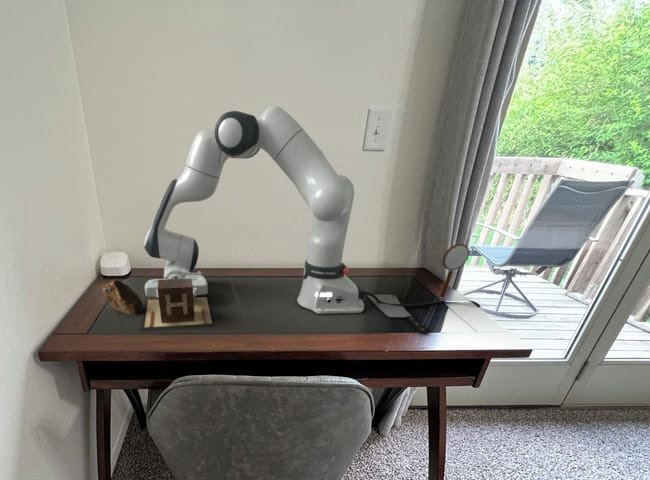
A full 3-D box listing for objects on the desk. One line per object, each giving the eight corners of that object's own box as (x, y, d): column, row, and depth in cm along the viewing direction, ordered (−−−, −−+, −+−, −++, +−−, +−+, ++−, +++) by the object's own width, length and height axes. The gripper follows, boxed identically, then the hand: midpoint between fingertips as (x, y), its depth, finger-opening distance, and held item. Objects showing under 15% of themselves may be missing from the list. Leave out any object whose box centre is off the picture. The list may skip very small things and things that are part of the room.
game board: (206, 299, 124) (206, 296, 123) (212, 325, 107) (212, 322, 106) (148, 302, 121) (147, 298, 120) (144, 329, 104) (144, 326, 104)
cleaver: (397, 333, 104) (430, 333, 104) (397, 332, 104) (431, 332, 104) (366, 295, 129) (393, 295, 129) (366, 294, 128) (394, 294, 129)
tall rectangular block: (193, 311, 113) (191, 278, 107) (194, 321, 107) (192, 287, 101) (162, 313, 112) (158, 279, 106) (161, 323, 106) (157, 289, 100)
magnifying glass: (430, 302, 124) (449, 244, 113) (427, 300, 126) (446, 243, 115) (453, 301, 125) (474, 244, 114) (450, 299, 127) (471, 243, 116)
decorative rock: (104, 311, 114) (98, 279, 108) (117, 304, 119) (111, 273, 113) (135, 318, 110) (129, 285, 104) (146, 311, 115) (142, 279, 109)
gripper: (144, 273, 118) (141, 288, 107) (205, 271, 121) (208, 285, 110) (146, 291, 122) (144, 308, 110) (206, 288, 124) (209, 304, 113)
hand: (176, 297), depth 110 cm, fingers open, 8 cm apart
